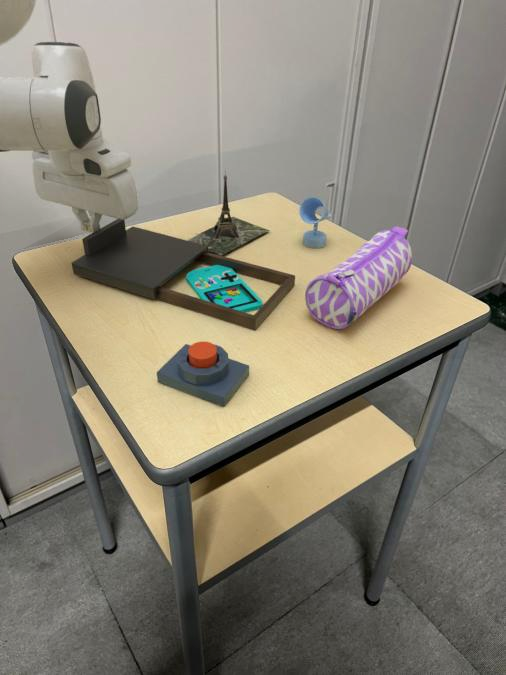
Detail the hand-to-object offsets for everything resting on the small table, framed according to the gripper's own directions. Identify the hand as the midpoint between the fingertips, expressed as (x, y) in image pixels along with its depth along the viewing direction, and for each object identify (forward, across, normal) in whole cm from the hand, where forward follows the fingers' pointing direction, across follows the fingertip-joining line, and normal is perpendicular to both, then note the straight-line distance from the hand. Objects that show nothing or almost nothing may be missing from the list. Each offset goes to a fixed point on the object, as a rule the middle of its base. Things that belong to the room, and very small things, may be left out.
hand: (91, 230), depth 93 cm
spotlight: (+5, +34, +24) cm, 42 cm away
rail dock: (+5, +20, 0) cm, 20 cm away
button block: (+5, +36, -21) cm, 42 cm away
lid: (+5, +11, 0) cm, 12 cm away
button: (+1, +36, -21) cm, 42 cm away
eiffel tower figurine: (+5, +18, +18) cm, 26 cm away
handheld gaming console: (+5, +27, 0) cm, 28 cm away
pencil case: (+5, +48, +8) cm, 49 cm away
